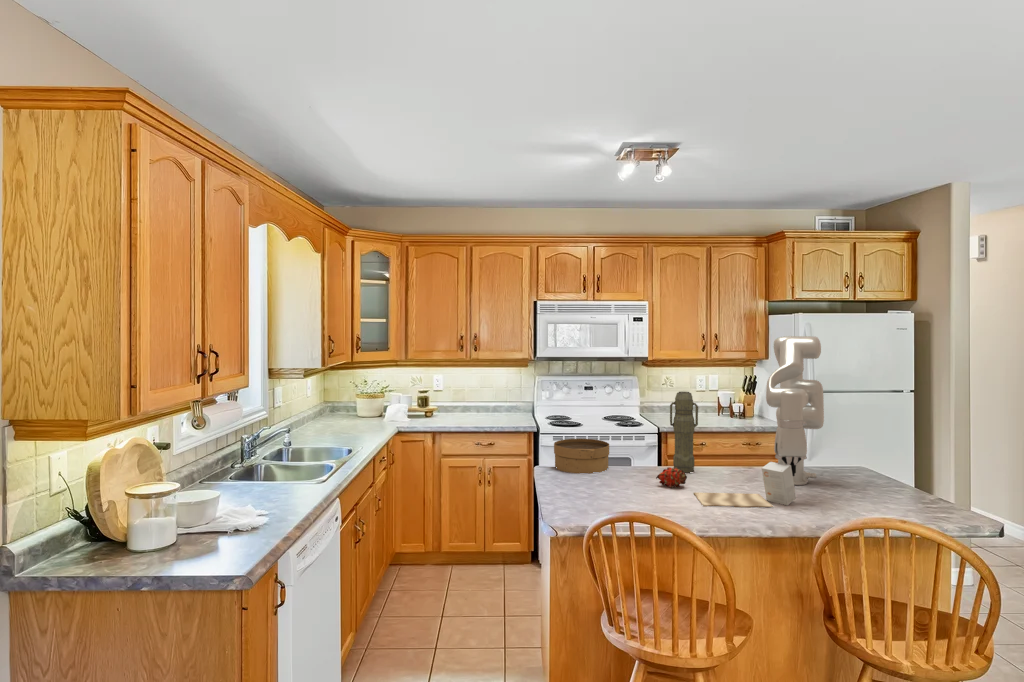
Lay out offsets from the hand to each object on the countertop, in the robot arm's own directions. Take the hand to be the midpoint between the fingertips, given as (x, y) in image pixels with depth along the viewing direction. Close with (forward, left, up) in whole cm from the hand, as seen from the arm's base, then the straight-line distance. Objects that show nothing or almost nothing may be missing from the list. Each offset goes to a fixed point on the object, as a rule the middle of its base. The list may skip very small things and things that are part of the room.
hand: (790, 475), depth 217 cm
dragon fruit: (+39, -18, -10) cm, 44 cm away
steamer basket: (+74, -50, -10) cm, 90 cm away
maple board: (+21, 0, -10) cm, 23 cm away
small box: (+3, 0, -9) cm, 10 cm away
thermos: (+29, -45, -10) cm, 55 cm away
